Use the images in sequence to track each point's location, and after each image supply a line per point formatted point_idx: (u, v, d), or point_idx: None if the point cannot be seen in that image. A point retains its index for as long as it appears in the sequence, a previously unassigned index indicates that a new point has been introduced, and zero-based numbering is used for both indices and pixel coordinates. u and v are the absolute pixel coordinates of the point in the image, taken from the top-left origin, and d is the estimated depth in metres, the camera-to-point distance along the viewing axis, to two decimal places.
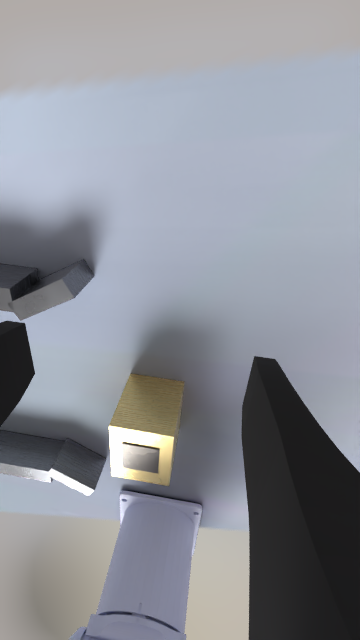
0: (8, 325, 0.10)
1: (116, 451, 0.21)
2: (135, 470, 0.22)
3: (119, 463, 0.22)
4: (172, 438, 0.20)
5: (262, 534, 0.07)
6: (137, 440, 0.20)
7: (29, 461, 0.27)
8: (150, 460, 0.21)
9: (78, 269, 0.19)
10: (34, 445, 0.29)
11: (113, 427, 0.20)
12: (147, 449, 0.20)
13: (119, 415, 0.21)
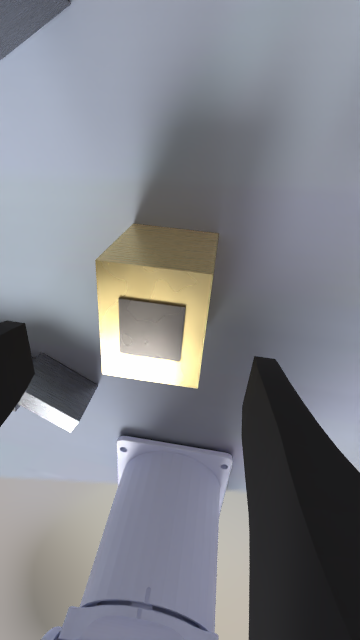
0: (8, 325, 0.10)
1: (109, 319, 0.12)
2: (142, 359, 0.13)
3: (115, 346, 0.13)
4: (210, 278, 0.11)
5: (262, 534, 0.07)
6: (145, 290, 0.11)
7: None
8: (169, 334, 0.12)
9: None
10: None
11: (103, 262, 0.11)
12: (163, 308, 0.12)
13: (114, 252, 0.12)
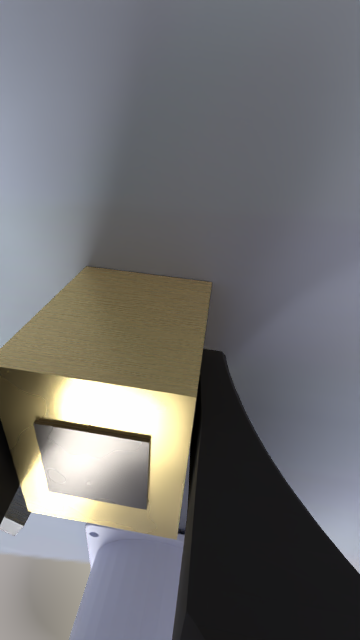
0: None
1: (25, 447, 0.07)
2: (85, 499, 0.08)
3: (41, 481, 0.08)
4: (191, 403, 0.06)
5: (188, 520, 0.07)
6: (78, 412, 0.06)
7: None
8: (124, 475, 0.07)
9: None
10: None
11: None
12: (111, 442, 0.07)
13: (29, 340, 0.07)
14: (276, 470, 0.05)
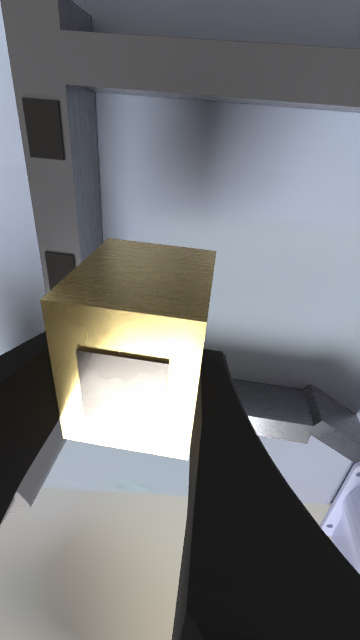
0: None
1: (66, 375, 0.09)
2: (113, 423, 0.10)
3: (77, 407, 0.10)
4: (203, 327, 0.08)
5: (187, 520, 0.07)
6: (113, 340, 0.08)
7: (277, 413, 0.19)
8: (147, 396, 0.09)
9: None
10: (268, 394, 0.20)
11: (52, 303, 0.08)
12: (138, 364, 0.08)
13: (71, 285, 0.09)
14: (276, 470, 0.05)
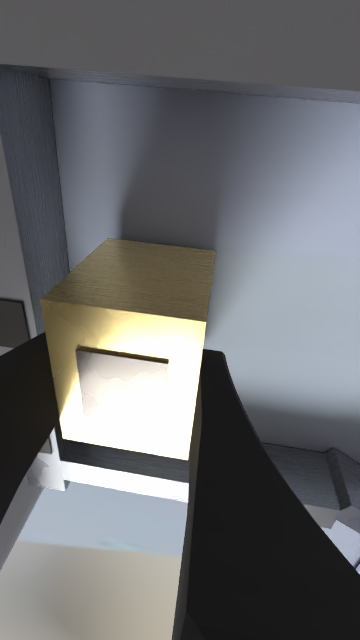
0: None
1: (66, 375, 0.09)
2: (112, 423, 0.10)
3: (76, 407, 0.10)
4: (202, 327, 0.08)
5: (187, 520, 0.07)
6: (113, 339, 0.08)
7: (293, 490, 0.15)
8: (147, 396, 0.09)
9: None
10: (281, 460, 0.16)
11: (51, 303, 0.08)
12: (137, 364, 0.08)
13: (71, 285, 0.09)
14: (276, 470, 0.05)
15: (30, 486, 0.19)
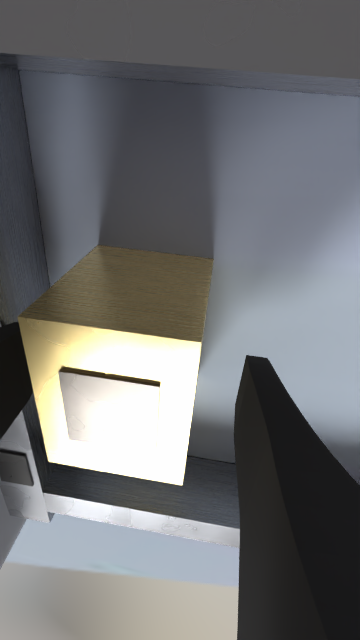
0: (16, 326, 0.10)
1: (49, 396, 0.08)
2: (101, 447, 0.09)
3: (62, 430, 0.09)
4: (197, 348, 0.07)
5: (251, 532, 0.07)
6: (98, 360, 0.07)
7: None
8: (137, 420, 0.08)
9: None
10: None
11: (30, 321, 0.07)
12: (126, 387, 0.08)
13: (54, 299, 0.08)
14: (357, 484, 0.05)
15: None
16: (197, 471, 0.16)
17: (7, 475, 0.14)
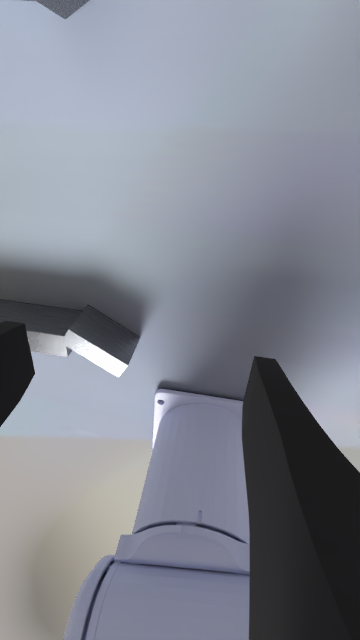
0: (8, 325, 0.10)
1: None
2: None
3: None
4: None
5: (262, 534, 0.07)
6: None
7: (37, 326, 0.20)
8: None
9: None
10: (43, 313, 0.21)
11: None
12: None
13: None
14: None
15: None
16: None
17: None
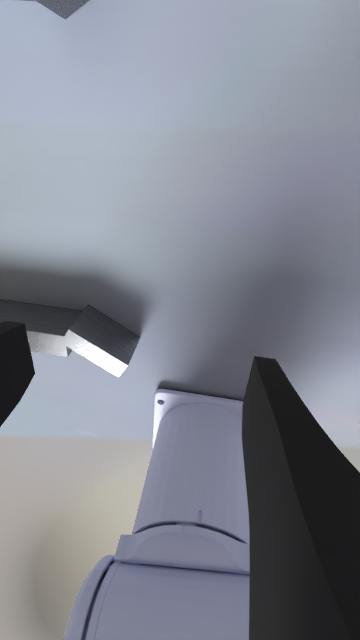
0: (8, 325, 0.10)
1: None
2: None
3: None
4: None
5: (262, 534, 0.07)
6: None
7: (37, 326, 0.20)
8: None
9: None
10: (43, 313, 0.21)
11: None
12: None
13: None
14: None
15: None
16: None
17: None
